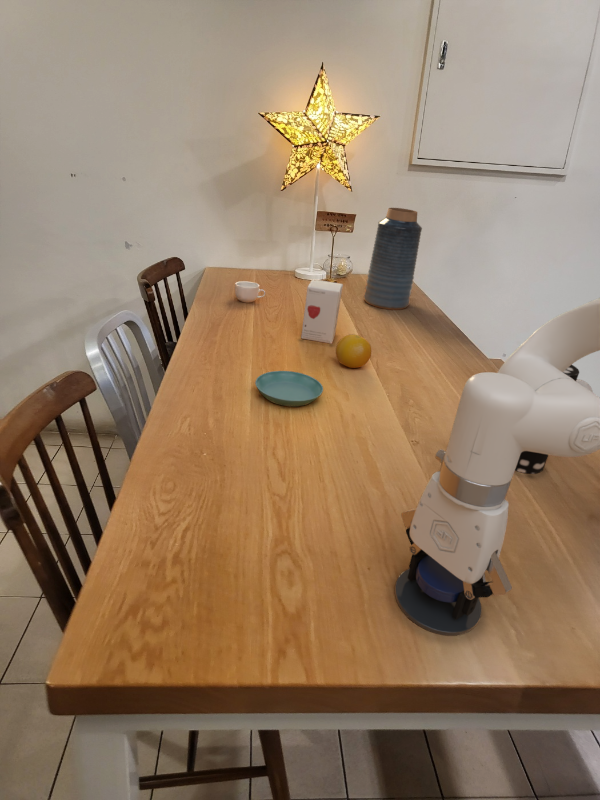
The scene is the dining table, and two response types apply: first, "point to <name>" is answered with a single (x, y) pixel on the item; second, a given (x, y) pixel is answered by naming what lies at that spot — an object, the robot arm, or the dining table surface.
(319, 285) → the rectangular carton
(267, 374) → the saucer
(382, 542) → the dining table surface
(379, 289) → the vase
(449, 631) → the coaster
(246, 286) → the teacup
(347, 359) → the fruit
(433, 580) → the lid
